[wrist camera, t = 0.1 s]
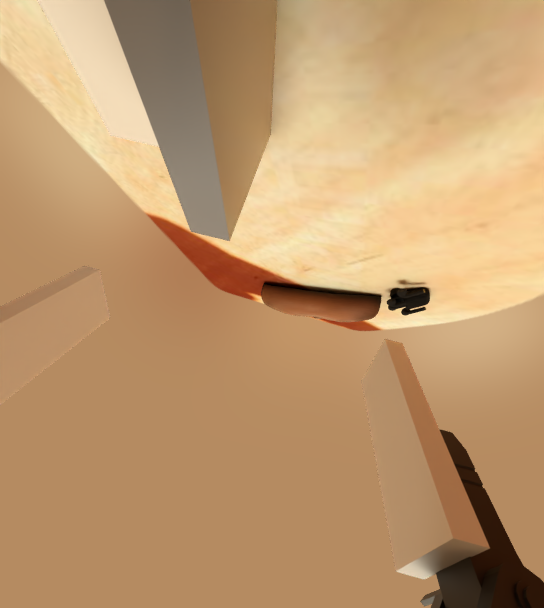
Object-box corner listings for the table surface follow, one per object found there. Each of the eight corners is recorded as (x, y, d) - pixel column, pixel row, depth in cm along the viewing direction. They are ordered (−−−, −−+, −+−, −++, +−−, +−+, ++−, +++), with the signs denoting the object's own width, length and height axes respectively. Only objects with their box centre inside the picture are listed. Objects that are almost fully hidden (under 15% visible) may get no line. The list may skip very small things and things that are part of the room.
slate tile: (217, -144, 10) (77, -49, 6) (284, -132, 9) (185, -27, 6) (236, 126, 19) (187, 230, 15) (270, 133, 19) (229, 241, 15)
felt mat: (-184, -425, 7) (-195, -427, 7) (180, -372, 7) (176, -374, 7) (112, 133, 22) (110, 135, 22) (232, 161, 22) (231, 163, 21)
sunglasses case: (274, 303, 48) (262, 325, 43) (271, 270, 44) (258, 290, 39) (374, 317, 43) (374, 343, 38) (381, 281, 39) (382, 305, 34)
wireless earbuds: (431, 311, 34) (392, 321, 36) (425, 296, 36) (387, 306, 38) (431, 286, 29) (385, 299, 31) (423, 269, 30) (380, 283, 32)
